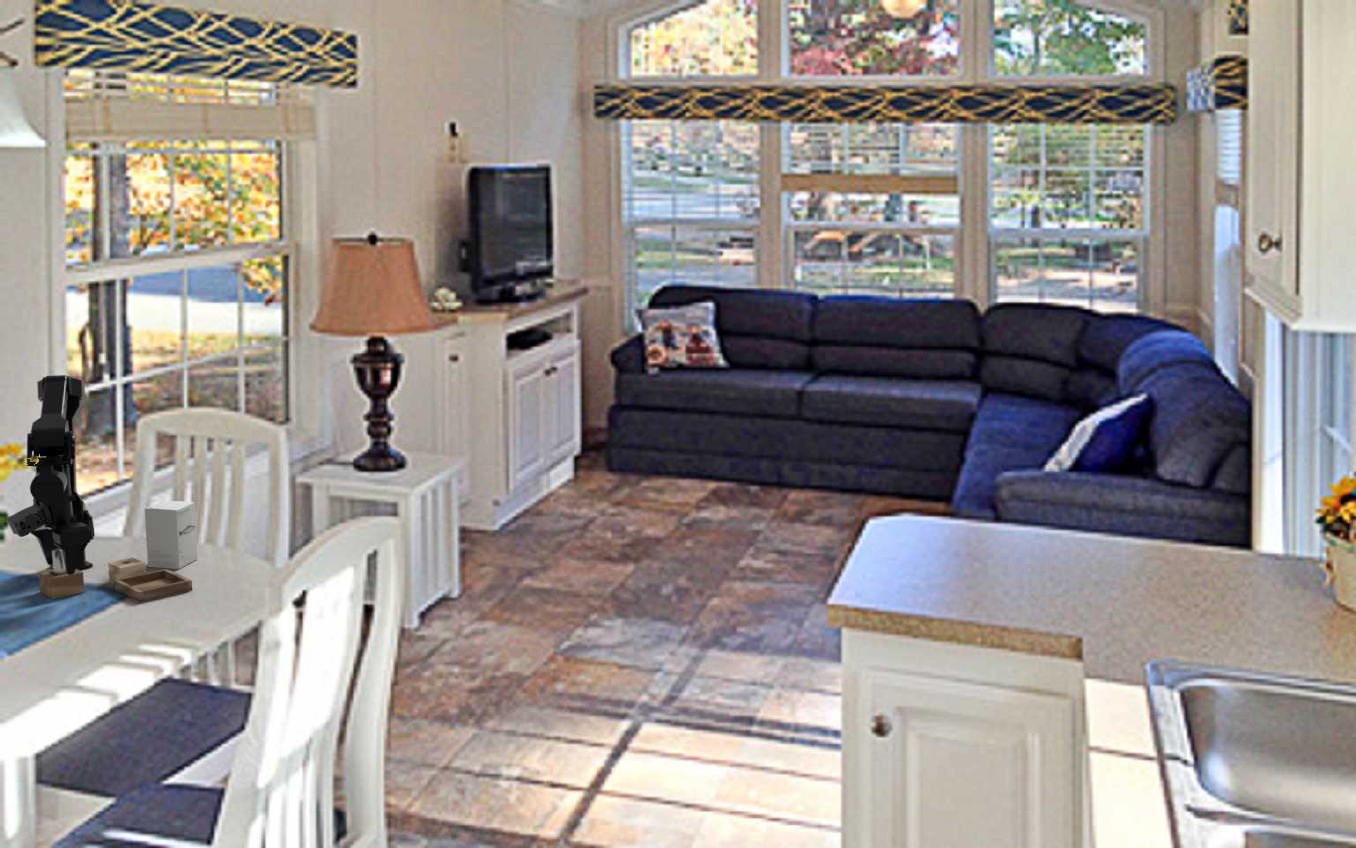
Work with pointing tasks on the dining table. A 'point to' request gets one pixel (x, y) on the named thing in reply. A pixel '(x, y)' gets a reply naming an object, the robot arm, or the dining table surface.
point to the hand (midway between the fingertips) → (60, 569)
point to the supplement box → (171, 534)
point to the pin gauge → (58, 562)
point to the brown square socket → (61, 584)
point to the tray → (153, 585)
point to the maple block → (125, 568)
